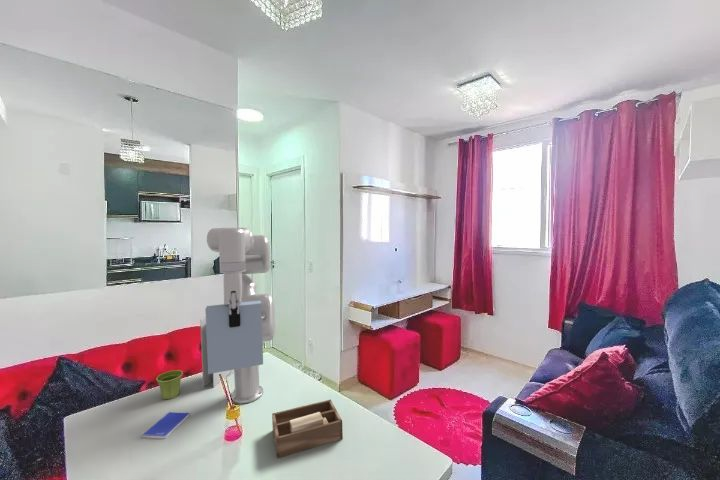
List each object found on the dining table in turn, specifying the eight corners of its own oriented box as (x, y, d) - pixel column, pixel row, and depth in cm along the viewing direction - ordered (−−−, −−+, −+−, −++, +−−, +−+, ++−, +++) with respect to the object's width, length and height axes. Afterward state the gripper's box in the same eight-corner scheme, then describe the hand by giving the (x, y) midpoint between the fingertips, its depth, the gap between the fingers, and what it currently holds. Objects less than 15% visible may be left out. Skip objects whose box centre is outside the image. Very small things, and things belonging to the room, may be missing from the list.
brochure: (213, 387, 131) (211, 320, 130) (202, 386, 132) (200, 319, 131) (233, 372, 145) (231, 311, 144) (223, 371, 146) (221, 310, 145)
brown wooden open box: (272, 430, 102) (272, 413, 102) (331, 415, 110) (330, 399, 110) (277, 458, 90) (276, 438, 89) (342, 438, 97) (342, 421, 97)
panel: (209, 368, 94) (206, 306, 93) (262, 359, 100) (260, 300, 99) (208, 374, 91) (205, 309, 90) (263, 364, 97) (261, 303, 96)
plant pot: (188, 393, 127) (187, 373, 126) (163, 404, 119) (162, 383, 118) (176, 387, 132) (176, 368, 131) (153, 397, 124) (152, 377, 124)
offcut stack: (285, 444, 96) (284, 421, 96) (327, 430, 102) (326, 409, 101) (288, 453, 92) (287, 429, 92) (331, 439, 98) (330, 416, 97)
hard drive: (164, 435, 99) (189, 412, 112) (141, 434, 100) (168, 411, 112) (164, 440, 99) (189, 416, 112) (141, 439, 100) (168, 415, 112)
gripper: (221, 265, 100) (223, 318, 101) (217, 271, 85) (220, 334, 86) (245, 263, 103) (247, 315, 104) (246, 269, 88) (248, 331, 88)
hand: (235, 323), depth 95 cm, fingers closed on panel, 4 cm apart
